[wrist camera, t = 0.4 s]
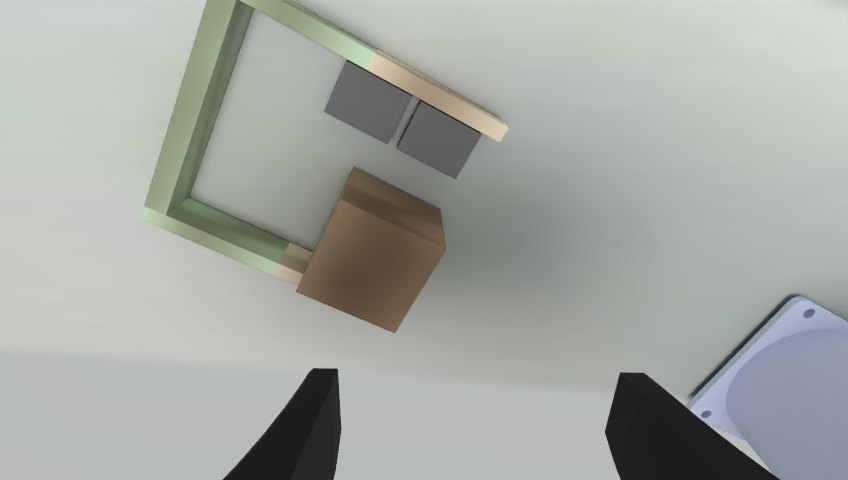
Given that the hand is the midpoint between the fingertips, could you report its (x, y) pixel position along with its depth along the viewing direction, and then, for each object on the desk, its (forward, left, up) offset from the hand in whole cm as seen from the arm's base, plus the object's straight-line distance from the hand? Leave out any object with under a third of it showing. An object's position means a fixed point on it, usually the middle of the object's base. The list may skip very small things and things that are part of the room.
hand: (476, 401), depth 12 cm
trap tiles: (+4, -4, -9) cm, 11 cm away
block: (+3, +1, -10) cm, 10 cm away
